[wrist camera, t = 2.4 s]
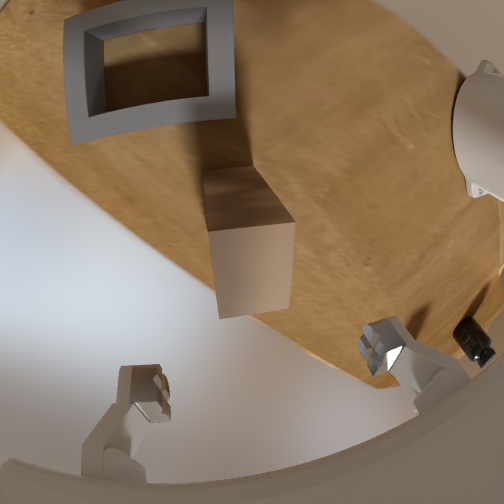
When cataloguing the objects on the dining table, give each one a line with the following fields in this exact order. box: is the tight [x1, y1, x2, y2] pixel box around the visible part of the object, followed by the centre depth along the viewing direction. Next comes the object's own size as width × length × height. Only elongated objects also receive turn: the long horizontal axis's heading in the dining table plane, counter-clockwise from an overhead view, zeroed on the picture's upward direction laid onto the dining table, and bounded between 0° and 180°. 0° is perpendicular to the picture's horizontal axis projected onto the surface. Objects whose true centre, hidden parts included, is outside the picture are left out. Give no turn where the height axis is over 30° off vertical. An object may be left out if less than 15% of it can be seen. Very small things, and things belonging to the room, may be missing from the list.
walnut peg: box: [202, 166, 296, 319], centre depth 18 cm, size 4×6×10 cm
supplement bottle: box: [453, 316, 496, 368], centre depth 43 cm, size 7×7×12 cm
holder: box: [63, 0, 236, 146], centre depth 13 cm, size 10×9×4 cm
